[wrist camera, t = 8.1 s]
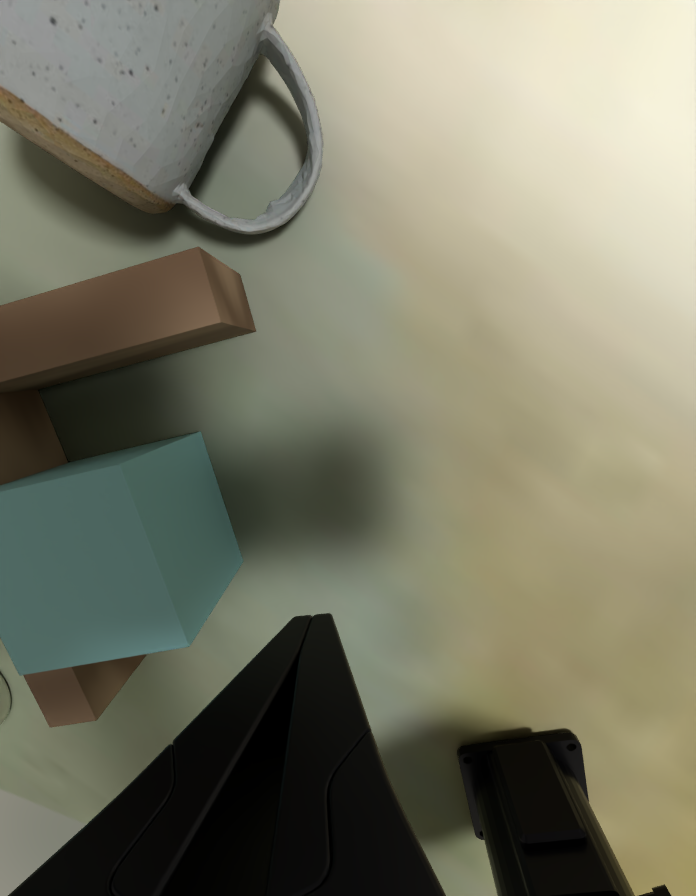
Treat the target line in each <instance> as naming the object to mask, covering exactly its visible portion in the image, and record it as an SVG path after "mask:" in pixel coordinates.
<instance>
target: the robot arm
mask: <svg viewBox="0 0 696 896" xmlns="http://www.w3.org/2000/svg"><path fill="white" fill-rule="evenodd" d="M457 755H458V760H459V764H460V769H461V773H462V778H463V782H464V786H465V791H466V795H467V800H468V804H469V809H470V813H471V818H472V822H473V826H474V831H475V835H476V837H477V838H479V839H481V840H485V844H486V849H487V853H488V857H489V861H490V865H491V870H492V874H493V878H494V882H495V886H496V890H497V895H498V896H635V895H634V893H633V891H632V889H631V887H630V885H629V883H628V881H627V879H626V877H625V875H624V873H623V871H622V869H621V867H620V865H619V863H618V861H617V859H616V857H615V855H614V853H613V851H612V849H611V847H610V845H609V843H608V841H607V838H606V836H605V834H604V832H603V830H602V828H601V826H600V824H599V822H598V820H597V818H596V816H595V814H594V812H593V810H592V808H591V806H590V804H589V800H588V792H587V785H586V778H585V770H584V763H583V755H582V748H581V744H580V742H579V740H578V738H577V737H576V735H574V734H573V733H559V734H551V735H544V736H536V737H528V738H521V739H513V740H505V741H498V742H490V743H482V744H475V745H467V746H462V747H460V748H459V749H458V751H457ZM652 890H653V892H650V893H646V894H643V895H639V896H671V895H670V893H669V891H668V889H667V887H666V886H665V884H664V885H661V886H657V887H654V888H652ZM8 896H446V895H445V893H444V891H443V889H442V887H441V885H440V883H439V881H438V879H437V877H436V875H435V873H434V871H433V869H432V867H431V865H430V863H429V861H428V859H427V857H426V855H425V853H424V851H423V849H422V847H421V845H420V843H419V841H418V839H417V837H416V835H415V833H414V831H413V829H412V827H411V825H410V823H409V821H408V819H407V817H406V815H405V813H404V810H403V808H402V806H401V804H400V802H399V800H398V797H397V795H396V793H395V791H394V789H393V787H392V784H391V782H390V780H389V777H388V774H387V772H386V769H385V767H384V764H383V761H382V759H381V756H380V754H379V751H378V748H377V745H376V742H375V739H374V736H373V734H372V732H371V728H370V725H369V722H368V719H367V716H366V713H365V710H364V707H363V704H362V701H361V698H360V696H359V693H358V690H357V687H356V684H355V681H354V678H353V675H352V672H351V669H350V666H349V663H348V660H347V657H346V655H345V652H344V649H343V646H342V643H341V640H340V637H339V634H338V631H337V628H336V625H335V622H334V619H333V617H332V615H331V614H330V613H327V614H316V615H314V616H313V617H312V616H311V615H305V616H296V617H294V618H292V619H291V620H290V621H289V622H288V623H287V624H286V626H285V627H284V628H283V629H282V630H281V631H280V632H279V633H278V634H277V635H276V636H275V637H274V638H273V639H272V640H271V641H270V642H269V643H268V644H267V645H266V646H265V647H264V648H263V649H262V650H261V651H260V652H259V653H258V654H257V655H256V656H255V657H254V658H253V659H252V660H251V661H250V662H249V663H248V664H247V665H246V666H245V667H244V669H243V670H242V671H241V672H240V673H239V674H238V675H237V676H236V677H235V678H234V679H233V680H232V681H231V682H230V683H229V684H228V685H227V686H226V687H225V688H224V689H223V690H222V691H221V692H220V693H219V694H218V695H217V696H216V697H215V698H214V699H213V700H212V701H211V702H210V703H209V704H208V705H207V706H206V707H205V708H204V709H203V710H202V712H201V713H200V714H199V715H198V716H197V717H196V718H195V719H194V720H193V721H192V722H191V723H190V724H189V725H188V726H187V727H186V728H185V729H184V730H183V731H182V732H181V733H180V734H179V735H178V736H177V737H176V738H175V739H174V740H173V745H172V744H169V745H168V746H167V747H166V748H165V749H164V750H163V751H162V752H161V753H160V754H159V755H158V756H157V757H156V758H155V759H154V760H153V761H152V762H151V764H149V765H148V766H147V767H146V768H145V769H144V770H143V771H142V772H141V773H140V774H139V775H138V776H137V777H136V778H135V779H134V780H133V781H132V782H131V783H130V784H129V785H128V786H127V787H126V788H125V789H124V790H123V791H122V792H121V793H120V794H119V795H118V796H117V797H116V798H115V799H114V800H113V801H112V802H110V803H109V804H108V805H107V806H106V807H105V808H104V809H103V810H102V811H101V812H100V813H99V814H98V815H96V816H95V817H94V818H93V819H92V820H91V821H90V822H89V823H88V824H87V825H86V826H85V827H84V828H83V829H81V830H80V831H79V832H78V833H77V834H76V835H75V836H74V837H73V838H71V839H70V840H69V841H68V842H67V843H66V844H65V845H64V846H62V847H61V848H60V849H59V850H58V851H57V852H56V853H55V854H54V855H53V856H51V857H50V858H49V859H48V860H47V861H46V862H45V863H44V864H43V865H41V866H40V867H39V868H38V869H37V870H36V871H35V872H34V873H33V874H32V875H30V877H28V878H27V879H26V880H25V881H24V882H23V883H22V884H21V885H19V886H18V887H17V888H16V889H15V890H14V891H13V892H12V893H11V894H9V895H8Z"/></svg>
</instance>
